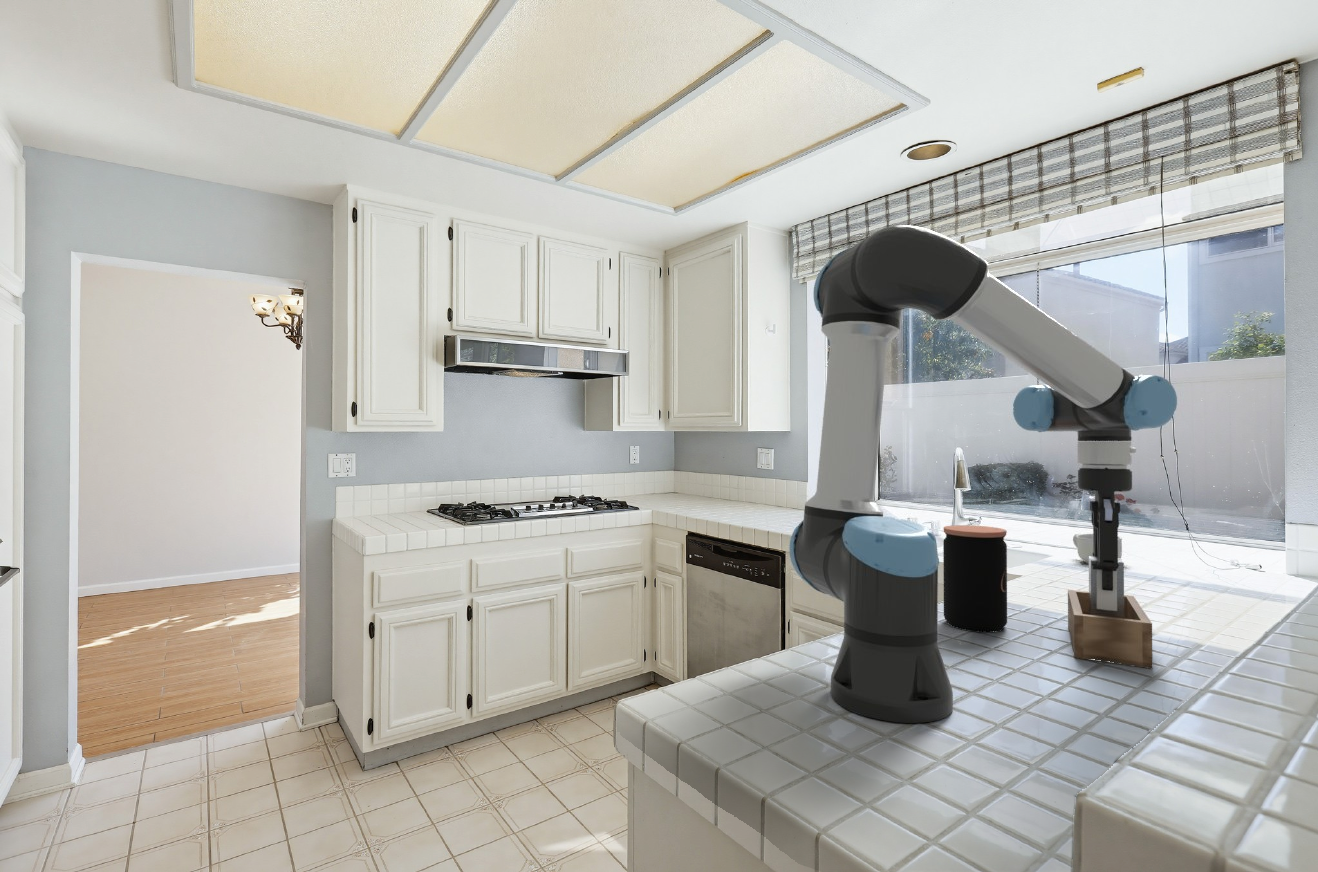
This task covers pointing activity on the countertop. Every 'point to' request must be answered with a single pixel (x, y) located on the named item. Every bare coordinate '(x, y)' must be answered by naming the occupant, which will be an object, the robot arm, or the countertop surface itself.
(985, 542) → the coffee jar
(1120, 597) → the steel bar
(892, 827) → the countertop surface
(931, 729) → the countertop surface
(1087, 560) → the teacup
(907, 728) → the countertop surface
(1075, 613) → the trough
